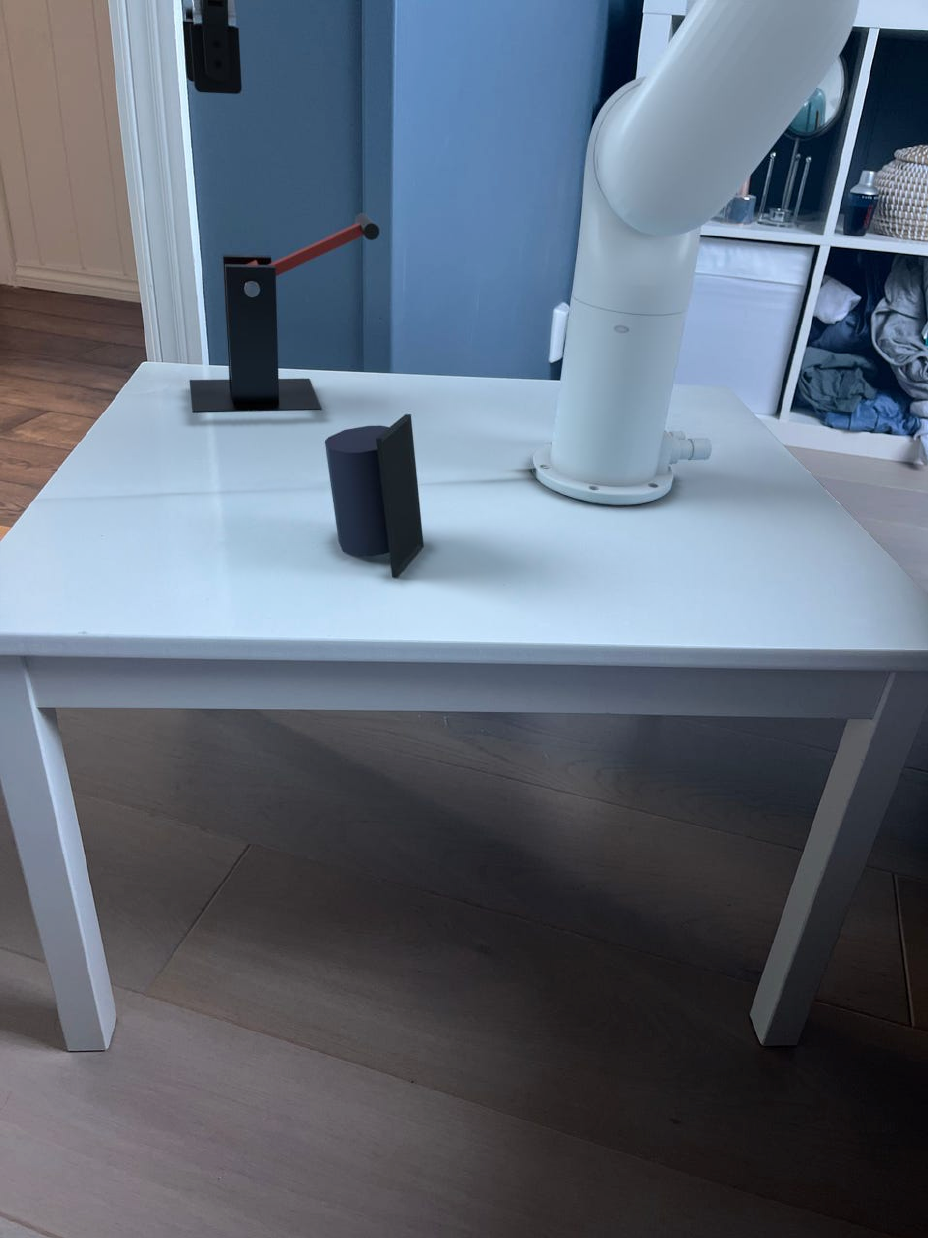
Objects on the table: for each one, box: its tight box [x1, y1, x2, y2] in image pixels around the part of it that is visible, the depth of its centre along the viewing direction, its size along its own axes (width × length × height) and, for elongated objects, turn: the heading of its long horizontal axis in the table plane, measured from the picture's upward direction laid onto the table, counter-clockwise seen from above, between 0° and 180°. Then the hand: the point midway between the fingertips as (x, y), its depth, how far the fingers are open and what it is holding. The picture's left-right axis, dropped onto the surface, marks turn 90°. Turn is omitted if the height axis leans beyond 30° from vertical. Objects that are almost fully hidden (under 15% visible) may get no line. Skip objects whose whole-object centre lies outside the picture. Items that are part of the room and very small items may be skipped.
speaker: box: [324, 413, 425, 579], centre depth 70 cm, size 8×6×10 cm
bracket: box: [189, 253, 322, 414], centre depth 93 cm, size 12×9×14 cm
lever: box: [246, 212, 380, 277], centre depth 90 cm, size 14×5×2 cm, turn 105°
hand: (213, 86), depth 72 cm, fingers open, 9 cm apart
